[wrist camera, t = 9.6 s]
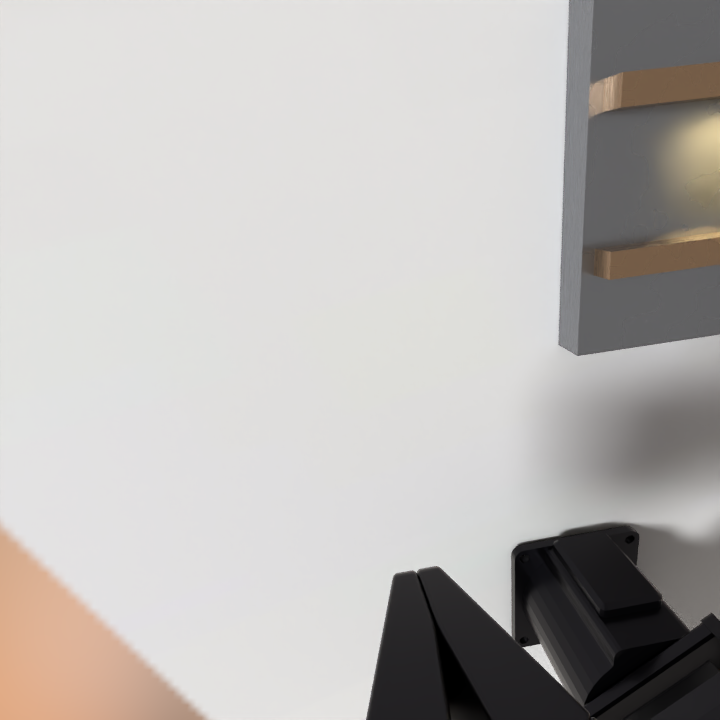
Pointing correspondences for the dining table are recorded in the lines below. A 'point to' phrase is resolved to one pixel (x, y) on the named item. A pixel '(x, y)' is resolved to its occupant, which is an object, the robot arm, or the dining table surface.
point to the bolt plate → (641, 174)
